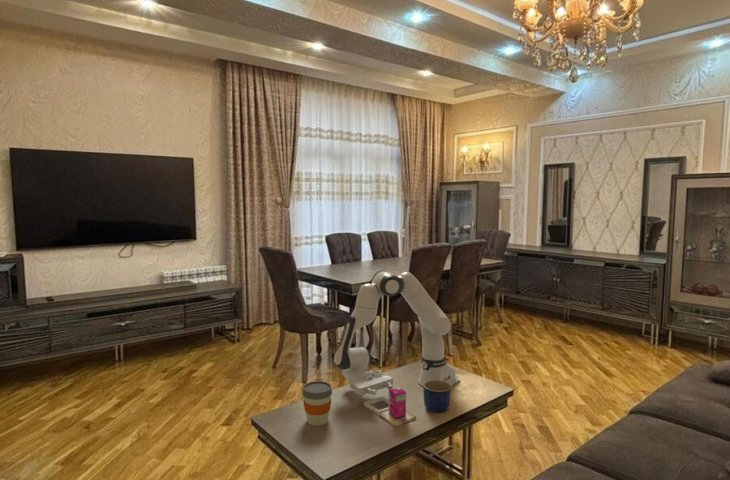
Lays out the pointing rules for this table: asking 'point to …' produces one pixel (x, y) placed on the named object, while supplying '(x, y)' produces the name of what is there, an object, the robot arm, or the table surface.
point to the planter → (437, 395)
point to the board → (397, 421)
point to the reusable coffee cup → (317, 402)
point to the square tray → (368, 403)
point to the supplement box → (397, 402)
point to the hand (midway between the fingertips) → (383, 390)
